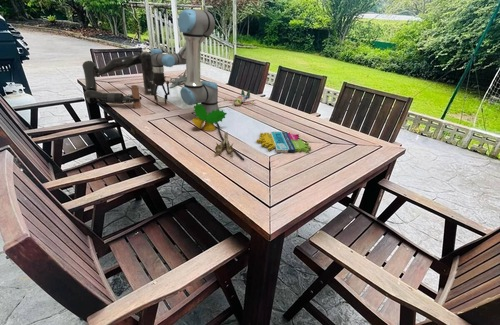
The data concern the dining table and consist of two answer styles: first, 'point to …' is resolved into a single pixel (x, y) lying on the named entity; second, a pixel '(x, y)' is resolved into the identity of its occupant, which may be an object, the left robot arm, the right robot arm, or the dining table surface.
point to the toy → (241, 99)
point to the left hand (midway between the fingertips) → (140, 99)
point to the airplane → (178, 80)
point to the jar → (136, 96)
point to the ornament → (207, 117)
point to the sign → (283, 142)
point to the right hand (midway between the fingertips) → (161, 104)
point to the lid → (160, 99)
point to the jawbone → (224, 145)
